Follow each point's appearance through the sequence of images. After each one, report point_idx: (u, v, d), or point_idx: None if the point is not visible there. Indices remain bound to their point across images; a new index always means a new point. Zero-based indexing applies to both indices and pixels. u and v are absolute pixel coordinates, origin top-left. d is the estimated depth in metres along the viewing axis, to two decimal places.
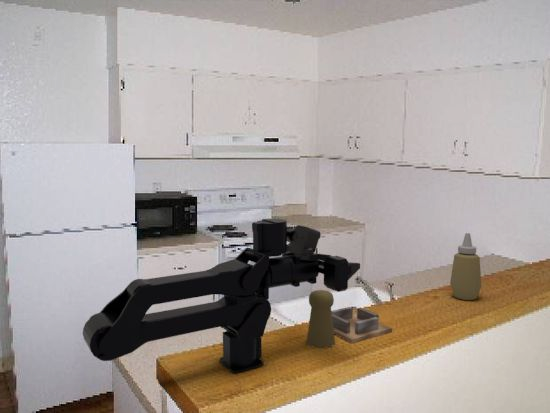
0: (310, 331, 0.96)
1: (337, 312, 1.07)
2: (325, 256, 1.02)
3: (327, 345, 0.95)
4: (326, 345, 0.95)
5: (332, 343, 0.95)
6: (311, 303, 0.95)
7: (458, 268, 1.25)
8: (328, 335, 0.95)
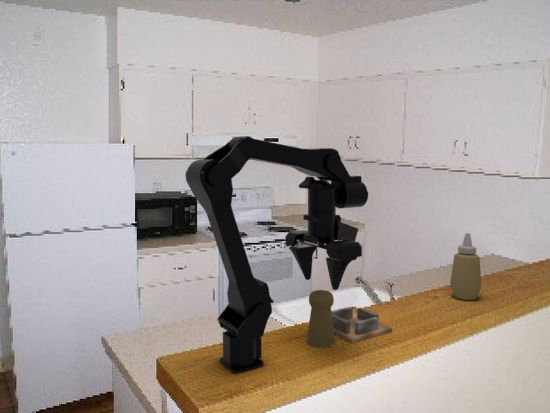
0: (310, 331, 0.96)
1: (337, 312, 1.07)
2: (310, 271, 1.00)
3: (327, 345, 0.95)
4: (326, 345, 0.95)
5: (332, 343, 0.95)
6: (311, 303, 0.95)
7: (458, 268, 1.25)
8: (328, 335, 0.95)
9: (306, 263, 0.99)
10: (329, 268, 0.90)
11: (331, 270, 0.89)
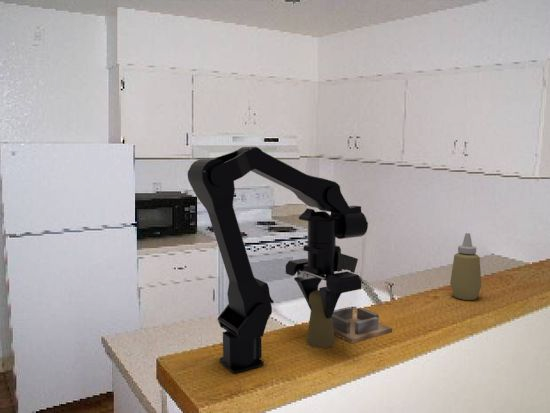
0: (309, 331, 0.96)
1: (337, 312, 1.07)
2: None
3: (327, 345, 0.95)
4: (326, 345, 0.95)
5: (332, 343, 0.95)
6: (311, 303, 0.95)
7: (458, 268, 1.25)
8: (328, 335, 0.95)
9: None
10: (322, 298, 0.92)
11: (324, 300, 0.92)
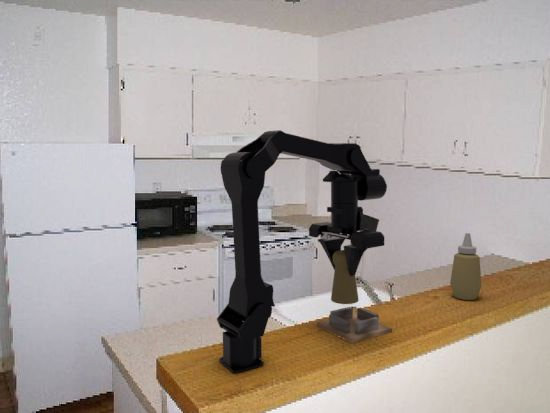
0: (334, 288, 1.00)
1: (337, 312, 1.07)
2: None
3: (351, 301, 0.99)
4: (350, 301, 0.99)
5: (356, 300, 1.00)
6: (335, 262, 0.99)
7: (458, 268, 1.25)
8: (352, 292, 0.99)
9: None
10: (347, 255, 0.96)
11: (349, 257, 0.96)
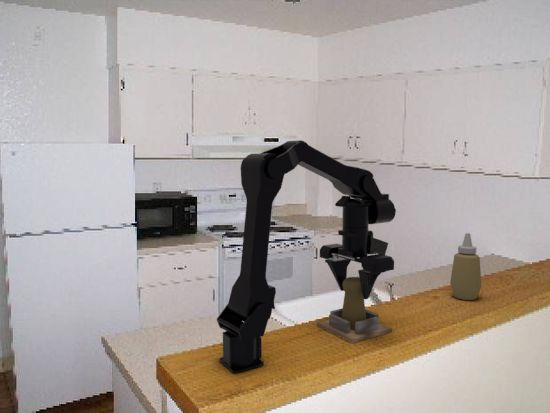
0: (344, 315, 1.03)
1: (337, 312, 1.07)
2: None
3: None
4: None
5: None
6: (345, 289, 1.02)
7: (458, 268, 1.25)
8: (361, 318, 1.02)
9: (341, 275, 1.07)
10: (361, 279, 0.98)
11: (363, 281, 0.98)
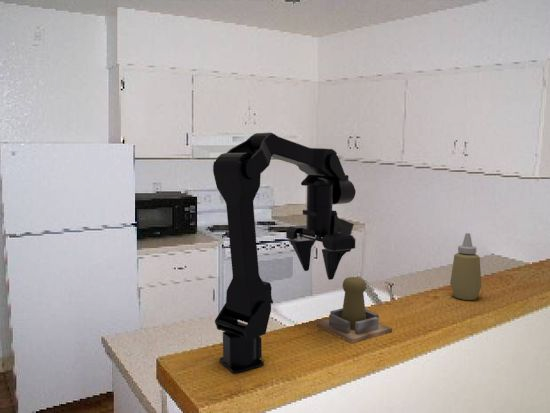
0: (344, 315, 1.03)
1: (337, 312, 1.07)
2: (308, 263, 1.08)
3: None
4: None
5: None
6: (345, 289, 1.02)
7: (458, 268, 1.25)
8: (361, 319, 1.02)
9: (305, 255, 1.07)
10: (325, 259, 0.97)
11: (326, 261, 0.97)
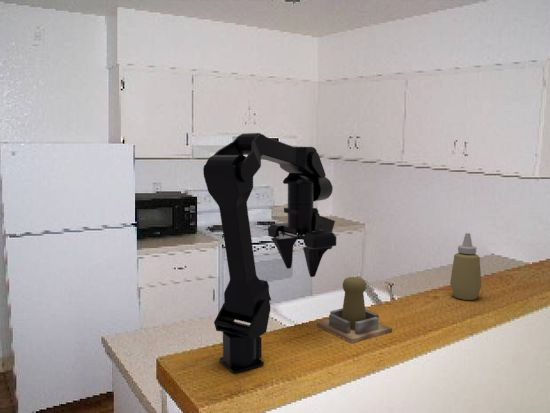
0: (344, 315, 1.03)
1: (337, 312, 1.07)
2: (291, 260, 1.08)
3: None
4: None
5: None
6: (345, 289, 1.02)
7: (458, 268, 1.25)
8: (361, 319, 1.02)
9: (287, 253, 1.07)
10: (306, 256, 0.98)
11: (308, 258, 0.97)
